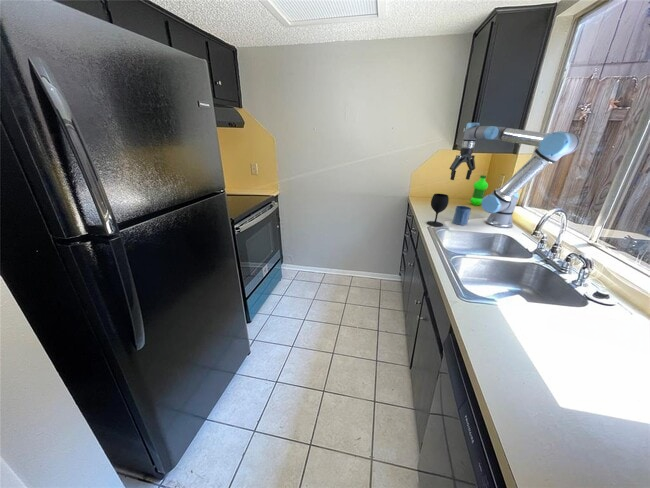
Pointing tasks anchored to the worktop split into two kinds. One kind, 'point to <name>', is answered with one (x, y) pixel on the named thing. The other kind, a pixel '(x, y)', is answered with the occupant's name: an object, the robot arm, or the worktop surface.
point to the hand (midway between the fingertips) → (459, 179)
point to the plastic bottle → (479, 191)
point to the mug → (461, 215)
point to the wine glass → (438, 207)
